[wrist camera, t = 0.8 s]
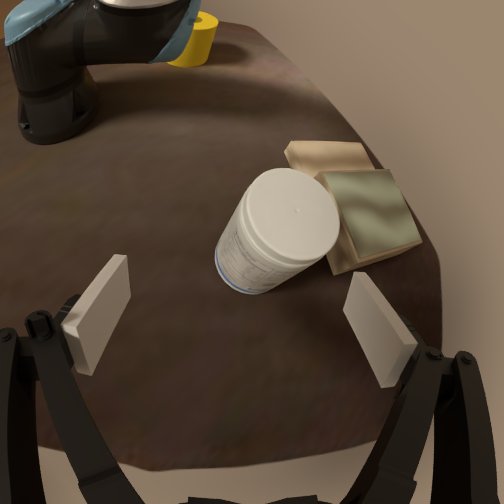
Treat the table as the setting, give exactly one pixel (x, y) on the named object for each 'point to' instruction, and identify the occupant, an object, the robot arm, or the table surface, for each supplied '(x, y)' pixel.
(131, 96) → the table surface
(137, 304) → the table surface
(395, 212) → the birch riser
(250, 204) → the supplement tub
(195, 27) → the yellow hollow cylinder
